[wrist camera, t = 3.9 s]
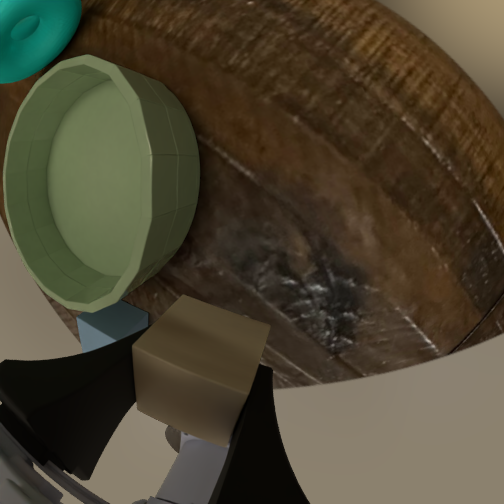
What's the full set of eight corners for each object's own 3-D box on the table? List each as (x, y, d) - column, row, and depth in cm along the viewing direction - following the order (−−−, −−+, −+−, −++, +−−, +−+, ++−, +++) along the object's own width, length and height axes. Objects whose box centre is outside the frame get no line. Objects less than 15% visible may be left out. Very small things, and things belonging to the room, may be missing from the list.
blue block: (148, 350, 20) (122, 379, 16) (111, 331, 21) (83, 355, 17) (148, 312, 19) (117, 341, 15) (108, 293, 19) (76, 316, 16)
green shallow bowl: (182, 310, 18) (144, 353, 13) (46, 246, 20) (7, 264, 15) (229, 75, 13) (191, 41, 8) (63, 81, 15) (18, 75, 10)
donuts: (81, -22, 11) (17, -45, 1) (108, 5, 12) (21, -30, 3) (26, 48, 14) (-39, 42, 5) (41, 91, 15) (-45, 90, 6)
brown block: (249, 385, 12) (225, 448, 9) (175, 357, 13) (136, 410, 9) (271, 324, 11) (248, 394, 7) (182, 293, 11) (131, 345, 8)
